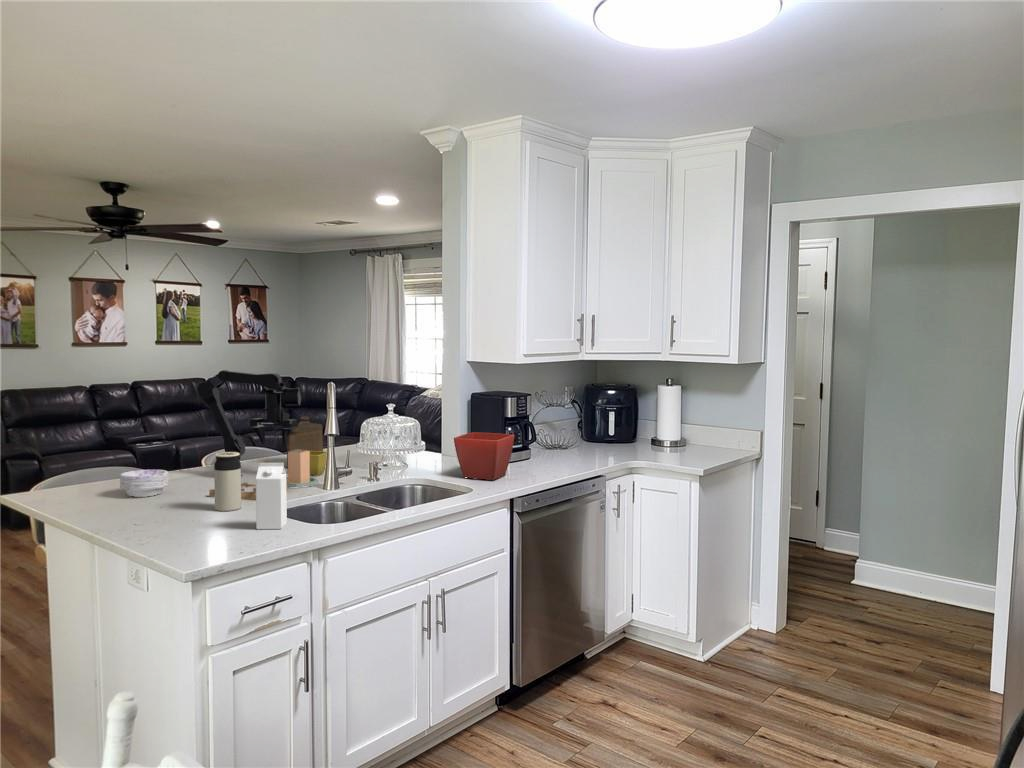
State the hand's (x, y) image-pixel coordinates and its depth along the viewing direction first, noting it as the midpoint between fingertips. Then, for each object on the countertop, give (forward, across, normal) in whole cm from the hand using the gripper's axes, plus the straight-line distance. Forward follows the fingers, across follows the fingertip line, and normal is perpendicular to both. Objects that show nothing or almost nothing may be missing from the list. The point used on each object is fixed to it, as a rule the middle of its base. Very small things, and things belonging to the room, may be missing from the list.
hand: (273, 444), depth 288 cm
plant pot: (+14, -79, -26) cm, 84 cm away
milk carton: (+13, -40, +65) cm, 78 cm away
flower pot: (+13, -12, -10) cm, 21 cm away
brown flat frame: (+13, -7, +26) cm, 30 cm away
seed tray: (+13, -3, +32) cm, 34 cm away
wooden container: (+13, 0, -24) cm, 27 cm away
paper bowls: (+13, +26, +40) cm, 50 cm away
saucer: (+13, -16, +9) cm, 22 cm away
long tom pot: (+12, -16, +9) cm, 22 cm away
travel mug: (+13, -14, +50) cm, 54 cm away
